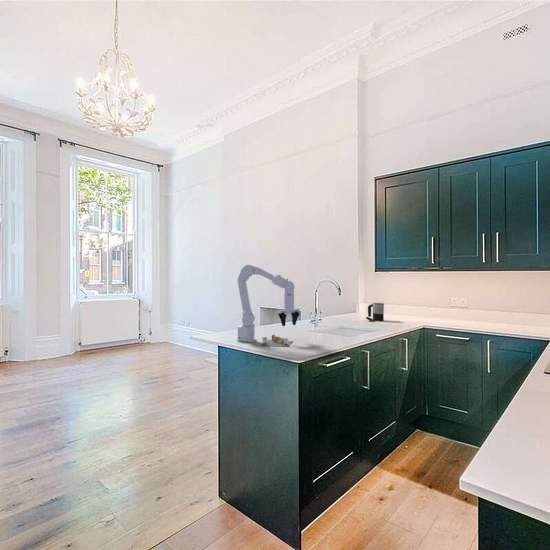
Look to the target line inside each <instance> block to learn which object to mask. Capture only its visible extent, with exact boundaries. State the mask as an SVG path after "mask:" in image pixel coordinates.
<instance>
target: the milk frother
mask: <svg viewBox="0 0 550 550" xmlns="http://www.w3.org/2000/svg"><path fill="white" fill-rule="evenodd" d="M384 307H385V303H383V302H373V303H371V304H369V305H368V306H367V316H365V319H366V320H368V321H369V322H384V321H385V320H384V319H385V318H384V316H385V315H384V313H385V309H384ZM371 317H372V318H371Z"/></svg>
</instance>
